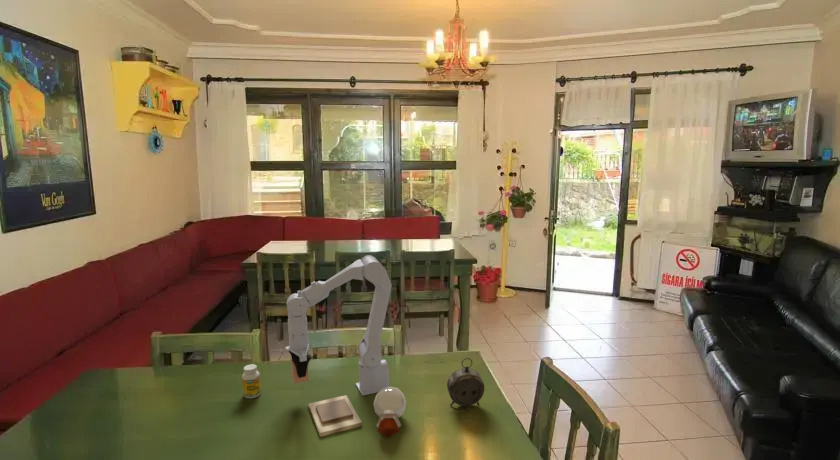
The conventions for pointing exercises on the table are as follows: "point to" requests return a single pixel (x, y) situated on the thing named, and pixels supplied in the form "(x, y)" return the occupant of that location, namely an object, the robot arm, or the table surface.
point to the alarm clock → (465, 386)
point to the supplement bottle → (251, 381)
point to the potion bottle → (389, 410)
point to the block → (295, 376)
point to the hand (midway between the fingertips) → (300, 373)
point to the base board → (334, 415)
